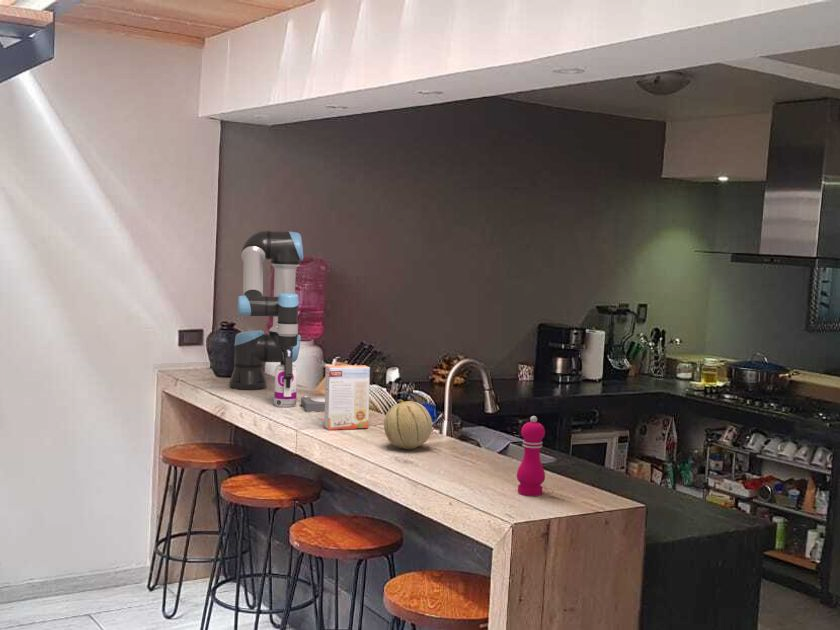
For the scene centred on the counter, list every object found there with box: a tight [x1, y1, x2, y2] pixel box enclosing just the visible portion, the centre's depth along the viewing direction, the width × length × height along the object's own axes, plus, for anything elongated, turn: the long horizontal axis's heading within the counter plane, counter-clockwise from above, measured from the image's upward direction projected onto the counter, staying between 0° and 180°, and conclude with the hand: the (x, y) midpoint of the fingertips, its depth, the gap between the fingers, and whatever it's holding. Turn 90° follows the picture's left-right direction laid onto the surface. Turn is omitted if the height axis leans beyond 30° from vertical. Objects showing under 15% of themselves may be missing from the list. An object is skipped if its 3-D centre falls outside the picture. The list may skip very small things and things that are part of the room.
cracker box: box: [323, 364, 371, 431], centre depth 322 cm, size 14×6×21 cm, turn 110°
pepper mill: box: [516, 415, 546, 497], centre depth 247 cm, size 7×7×20 cm
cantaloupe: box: [383, 398, 433, 450], centre depth 295 cm, size 15×15×15 cm
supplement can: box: [273, 364, 298, 408], centre depth 360 cm, size 8×8×15 cm
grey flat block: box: [300, 394, 325, 412], centre depth 358 cm, size 14×16×4 cm
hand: (285, 393), depth 360 cm, fingers open, 11 cm apart
